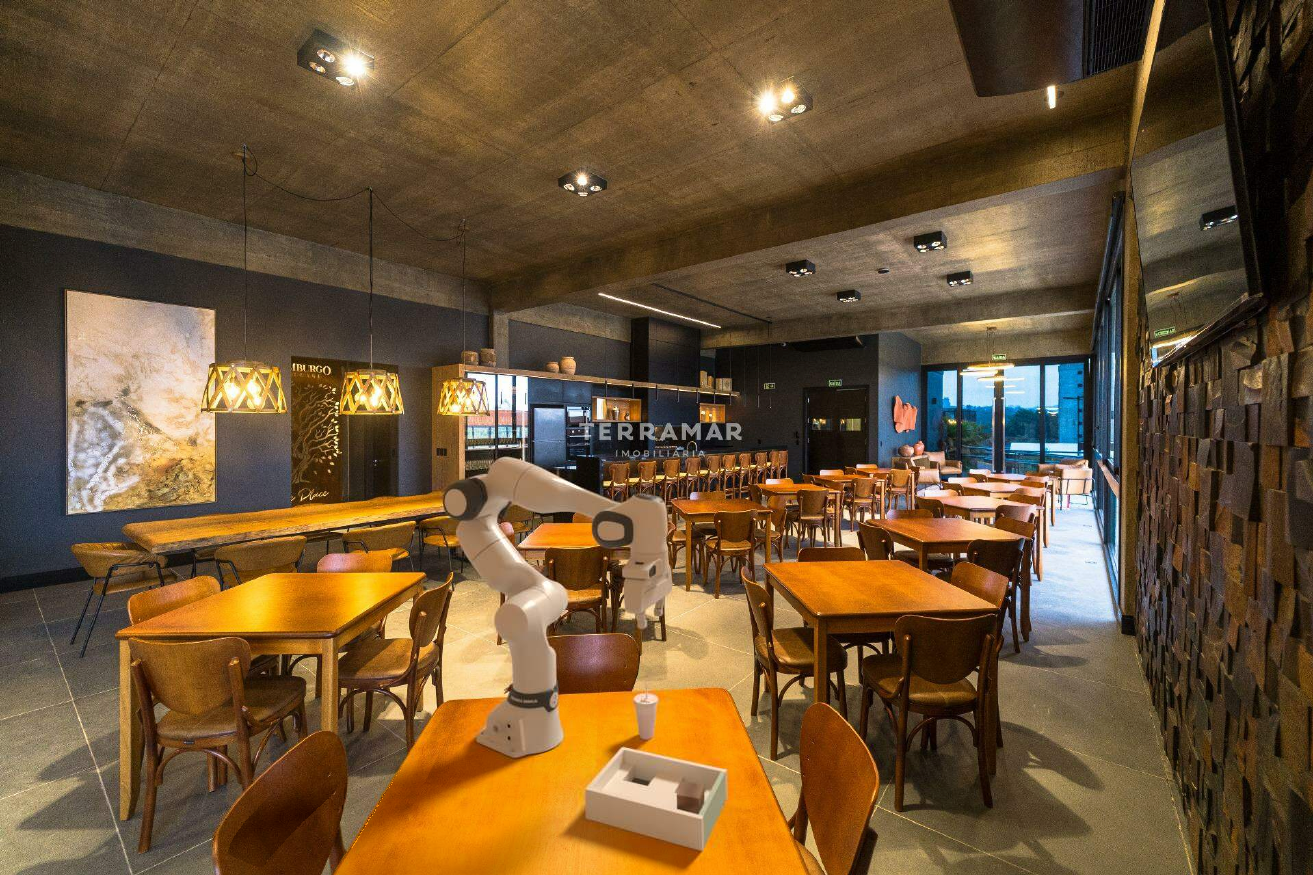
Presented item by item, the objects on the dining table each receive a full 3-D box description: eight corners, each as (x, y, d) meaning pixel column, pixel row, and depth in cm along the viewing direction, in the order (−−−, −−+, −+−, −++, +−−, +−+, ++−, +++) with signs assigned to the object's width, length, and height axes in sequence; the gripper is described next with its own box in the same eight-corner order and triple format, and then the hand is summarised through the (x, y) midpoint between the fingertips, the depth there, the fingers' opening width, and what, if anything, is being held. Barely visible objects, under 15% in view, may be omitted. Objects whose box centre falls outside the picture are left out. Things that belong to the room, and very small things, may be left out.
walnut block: (677, 817, 112) (676, 794, 112) (682, 803, 116) (682, 781, 116) (699, 821, 110) (699, 798, 110) (704, 807, 115) (704, 784, 115)
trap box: (585, 818, 116) (585, 788, 116) (622, 772, 132) (622, 746, 132) (702, 851, 107) (701, 819, 107) (727, 797, 122) (726, 769, 122)
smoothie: (639, 744, 144) (638, 689, 144) (630, 732, 150) (629, 679, 150) (662, 738, 147) (661, 684, 147) (652, 727, 152) (652, 674, 152)
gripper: (654, 553, 145) (655, 607, 145) (618, 571, 126) (619, 633, 126) (677, 555, 143) (678, 610, 143) (644, 573, 124) (645, 637, 124)
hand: (650, 621), depth 134 cm, fingers open, 8 cm apart
